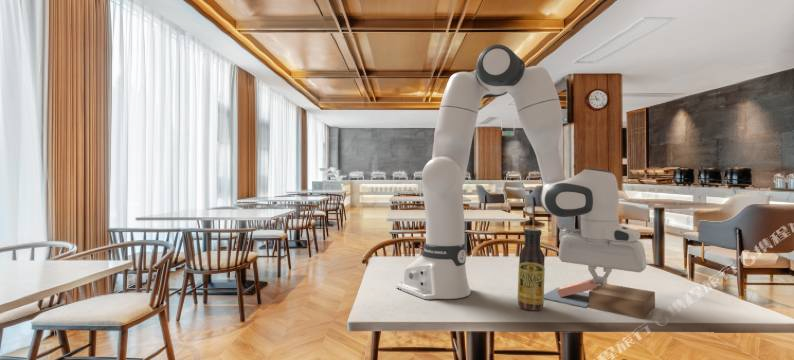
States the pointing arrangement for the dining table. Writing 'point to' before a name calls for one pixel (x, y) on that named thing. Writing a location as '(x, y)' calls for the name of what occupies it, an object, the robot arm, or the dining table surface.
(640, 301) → the block
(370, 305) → the dining table surface
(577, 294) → the mat
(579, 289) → the pink rectangular block
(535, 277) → the sauce bottle
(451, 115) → the robot arm
